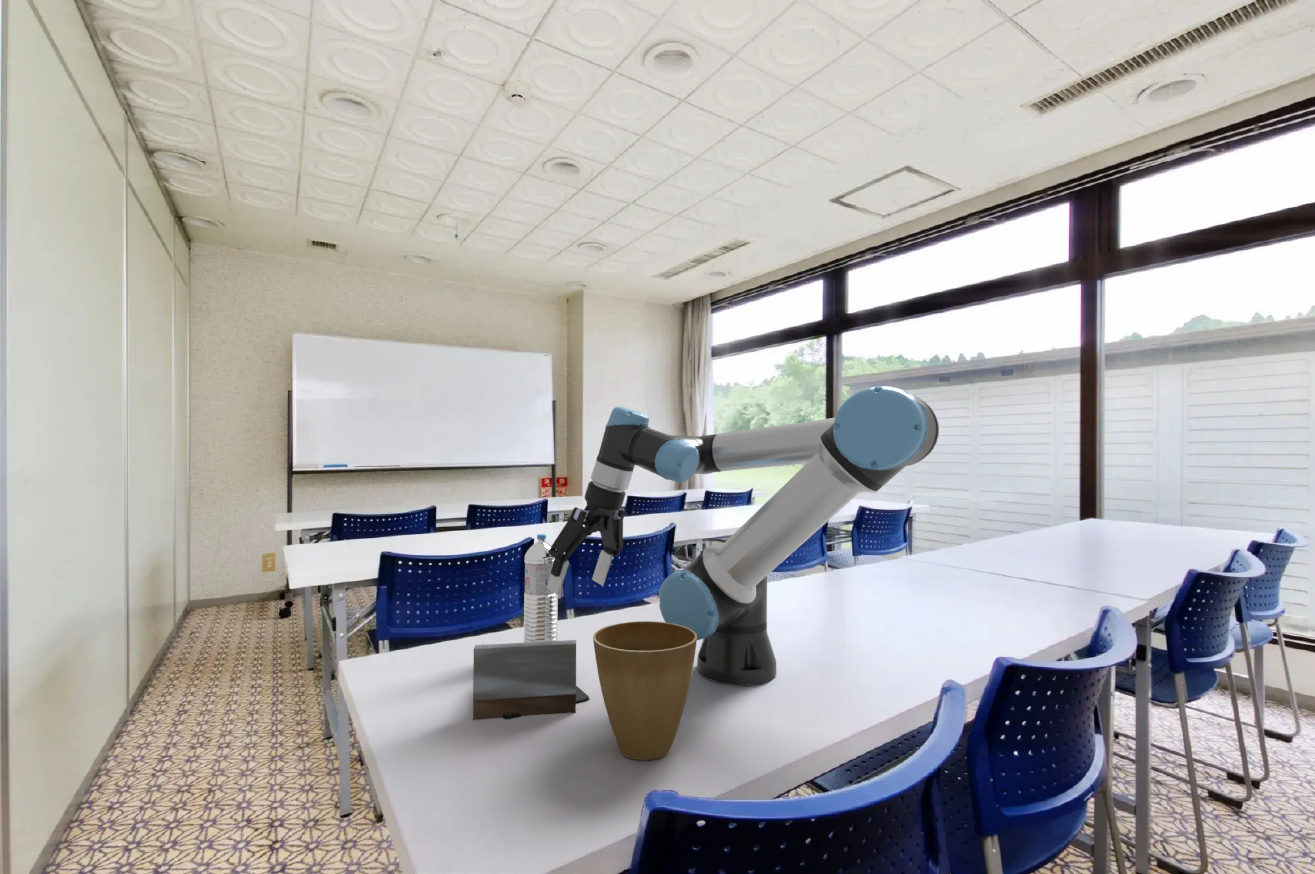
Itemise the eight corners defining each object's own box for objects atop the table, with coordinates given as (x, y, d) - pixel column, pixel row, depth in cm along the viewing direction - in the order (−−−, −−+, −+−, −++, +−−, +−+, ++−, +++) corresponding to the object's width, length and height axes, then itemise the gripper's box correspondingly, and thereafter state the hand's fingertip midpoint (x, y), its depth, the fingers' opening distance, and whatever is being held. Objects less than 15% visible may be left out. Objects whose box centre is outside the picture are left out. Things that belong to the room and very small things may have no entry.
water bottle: (549, 663, 117) (550, 537, 117) (518, 660, 118) (519, 536, 119) (562, 651, 123) (563, 532, 124) (531, 649, 125) (532, 532, 125)
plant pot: (718, 753, 82) (718, 638, 82) (628, 788, 73) (629, 659, 73) (657, 714, 94) (657, 614, 94) (573, 740, 85) (574, 630, 86)
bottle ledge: (483, 685, 105) (484, 623, 106) (573, 679, 108) (573, 619, 108) (472, 720, 92) (473, 649, 92) (575, 712, 94) (576, 643, 95)
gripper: (630, 480, 126) (601, 571, 128) (550, 477, 105) (517, 586, 107) (657, 492, 122) (627, 586, 124) (580, 492, 101) (545, 605, 103)
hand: (576, 586), depth 116 cm, fingers open, 13 cm apart
